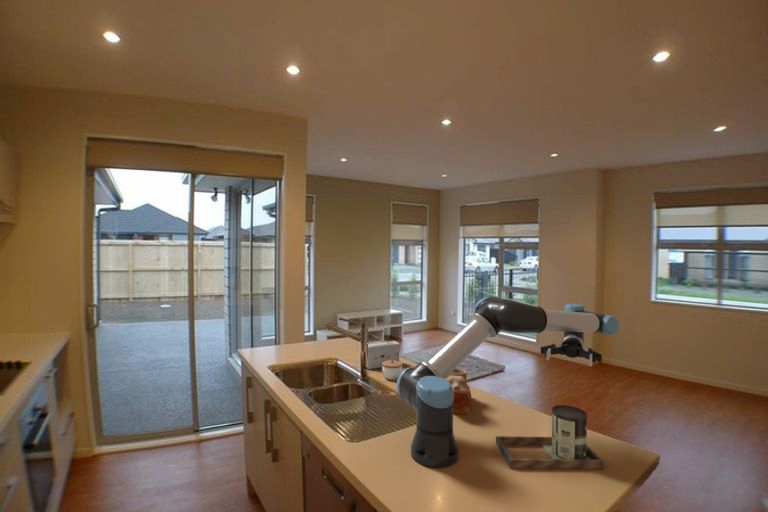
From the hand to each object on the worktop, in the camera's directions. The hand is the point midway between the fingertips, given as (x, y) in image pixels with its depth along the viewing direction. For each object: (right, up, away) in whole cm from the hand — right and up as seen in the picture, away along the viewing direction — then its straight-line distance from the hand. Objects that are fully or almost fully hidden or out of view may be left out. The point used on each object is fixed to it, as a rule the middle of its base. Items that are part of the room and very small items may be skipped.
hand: (568, 359), depth 130 cm
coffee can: (-5, -28, -11) cm, 30 cm away
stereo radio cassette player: (-66, -27, +82) cm, 109 cm away
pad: (-6, -28, -11) cm, 31 cm away
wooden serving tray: (-13, -28, -11) cm, 33 cm away
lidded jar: (-61, -27, +62) cm, 91 cm away
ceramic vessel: (-35, -28, +28) cm, 52 cm away
